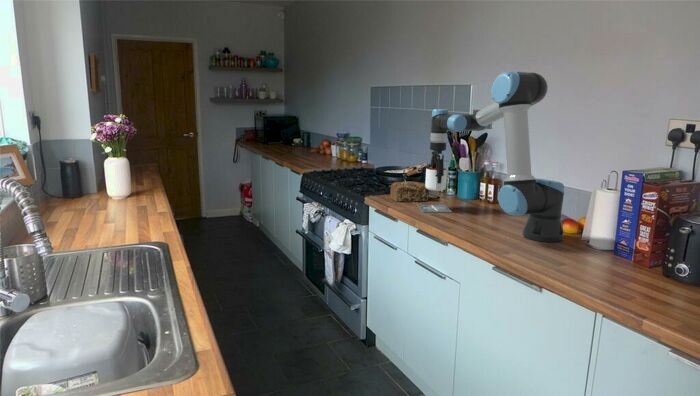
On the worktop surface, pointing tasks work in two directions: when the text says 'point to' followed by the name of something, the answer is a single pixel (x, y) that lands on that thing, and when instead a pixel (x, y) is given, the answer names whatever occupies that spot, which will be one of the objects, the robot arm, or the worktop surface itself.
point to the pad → (434, 209)
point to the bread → (409, 191)
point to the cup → (434, 179)
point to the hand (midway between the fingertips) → (435, 187)
